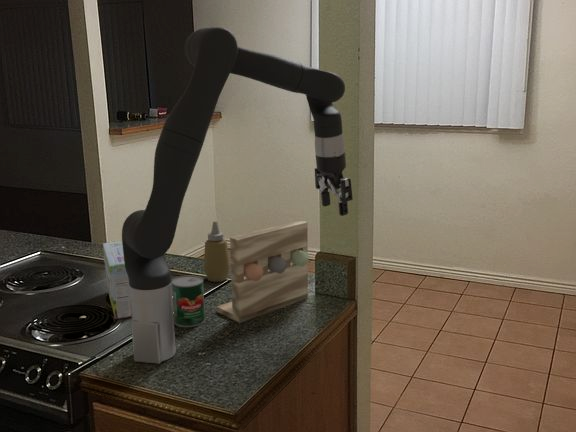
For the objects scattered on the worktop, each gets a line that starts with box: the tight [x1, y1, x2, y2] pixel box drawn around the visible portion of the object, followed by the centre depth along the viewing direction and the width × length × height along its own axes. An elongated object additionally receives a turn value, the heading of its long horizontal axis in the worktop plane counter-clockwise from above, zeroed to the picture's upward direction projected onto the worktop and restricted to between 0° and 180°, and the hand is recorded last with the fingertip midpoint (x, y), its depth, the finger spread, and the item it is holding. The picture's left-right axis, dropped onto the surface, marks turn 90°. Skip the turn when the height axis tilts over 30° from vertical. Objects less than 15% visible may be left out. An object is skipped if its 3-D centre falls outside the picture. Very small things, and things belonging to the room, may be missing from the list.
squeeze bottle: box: [203, 221, 231, 283], centre depth 190 cm, size 8×8×18 cm
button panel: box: [215, 219, 309, 324], centre depth 169 cm, size 10×24×22 cm, turn 133°
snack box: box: [102, 241, 132, 320], centre depth 172 cm, size 21×6×15 cm, turn 21°
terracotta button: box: [244, 262, 263, 281], centre depth 160 cm, size 4×4×4 cm
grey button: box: [268, 256, 287, 274], centre depth 165 cm, size 4×4×4 cm
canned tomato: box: [171, 274, 206, 328], centre depth 161 cm, size 8×8×11 cm
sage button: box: [291, 249, 310, 267], centre depth 170 cm, size 4×4×4 cm
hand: (334, 210), depth 167 cm, fingers open, 8 cm apart
